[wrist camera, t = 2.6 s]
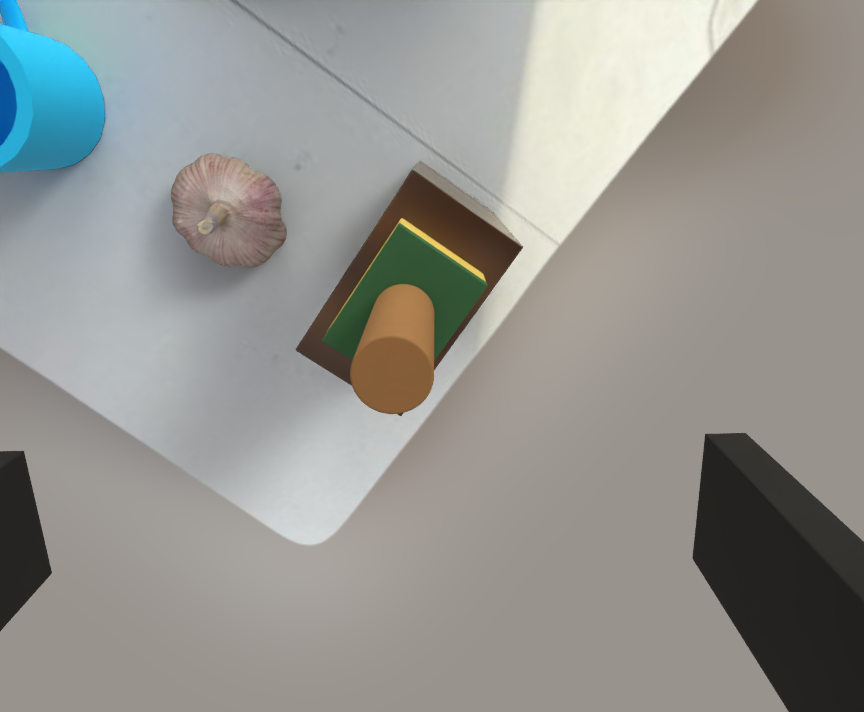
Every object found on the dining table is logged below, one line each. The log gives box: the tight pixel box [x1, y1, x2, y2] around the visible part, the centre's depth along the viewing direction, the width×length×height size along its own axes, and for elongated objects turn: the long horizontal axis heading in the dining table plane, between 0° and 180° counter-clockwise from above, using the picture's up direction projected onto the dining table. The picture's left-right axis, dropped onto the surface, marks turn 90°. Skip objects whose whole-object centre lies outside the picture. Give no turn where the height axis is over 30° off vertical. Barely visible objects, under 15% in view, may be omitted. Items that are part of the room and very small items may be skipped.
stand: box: [296, 161, 523, 416], centre depth 39 cm, size 10×6×16 cm, turn 146°
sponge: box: [322, 218, 488, 414], centre depth 26 cm, size 6×4×11 cm
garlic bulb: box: [171, 154, 286, 267], centre depth 42 cm, size 8×7×8 cm
